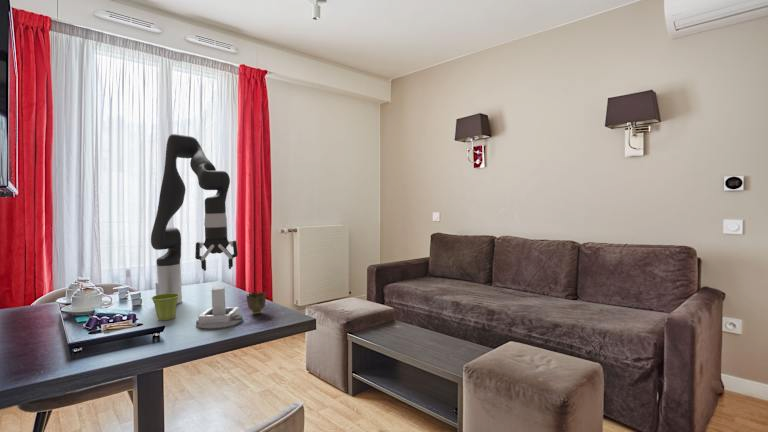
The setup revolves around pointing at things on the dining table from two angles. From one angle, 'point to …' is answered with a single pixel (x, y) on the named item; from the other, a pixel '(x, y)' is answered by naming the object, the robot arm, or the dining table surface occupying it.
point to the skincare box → (218, 300)
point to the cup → (256, 302)
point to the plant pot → (165, 305)
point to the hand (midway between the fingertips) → (217, 269)
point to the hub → (219, 319)
